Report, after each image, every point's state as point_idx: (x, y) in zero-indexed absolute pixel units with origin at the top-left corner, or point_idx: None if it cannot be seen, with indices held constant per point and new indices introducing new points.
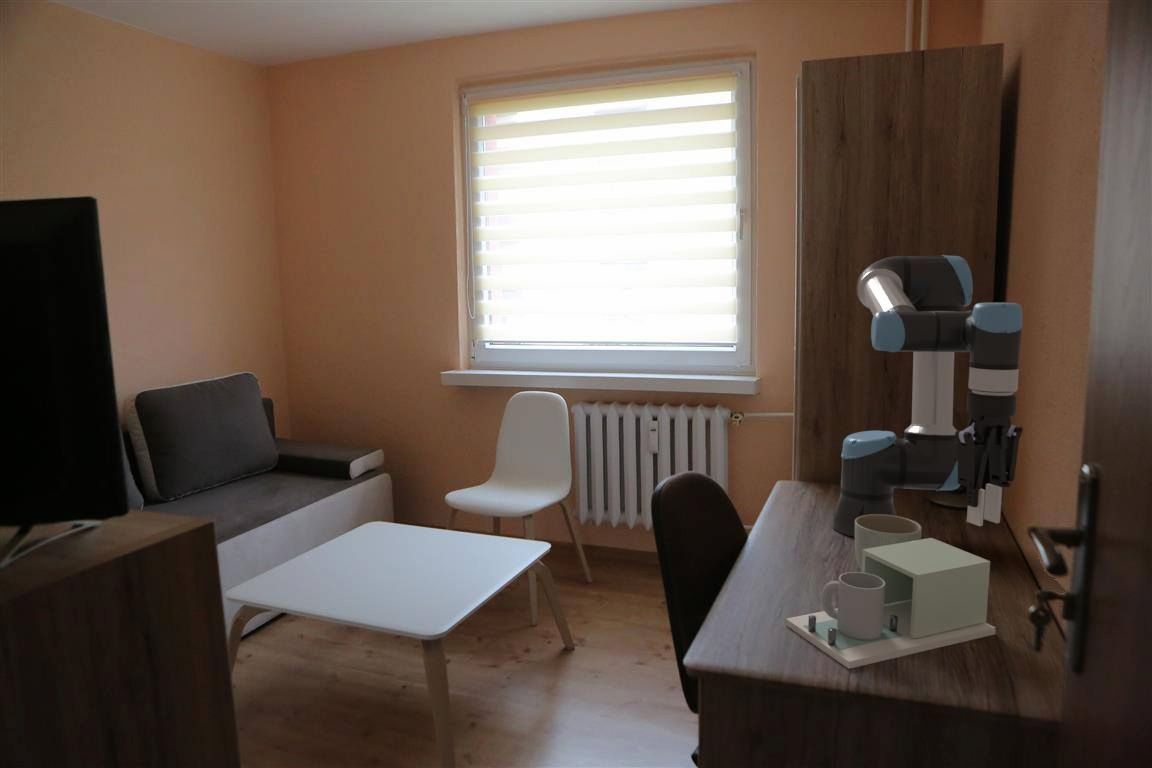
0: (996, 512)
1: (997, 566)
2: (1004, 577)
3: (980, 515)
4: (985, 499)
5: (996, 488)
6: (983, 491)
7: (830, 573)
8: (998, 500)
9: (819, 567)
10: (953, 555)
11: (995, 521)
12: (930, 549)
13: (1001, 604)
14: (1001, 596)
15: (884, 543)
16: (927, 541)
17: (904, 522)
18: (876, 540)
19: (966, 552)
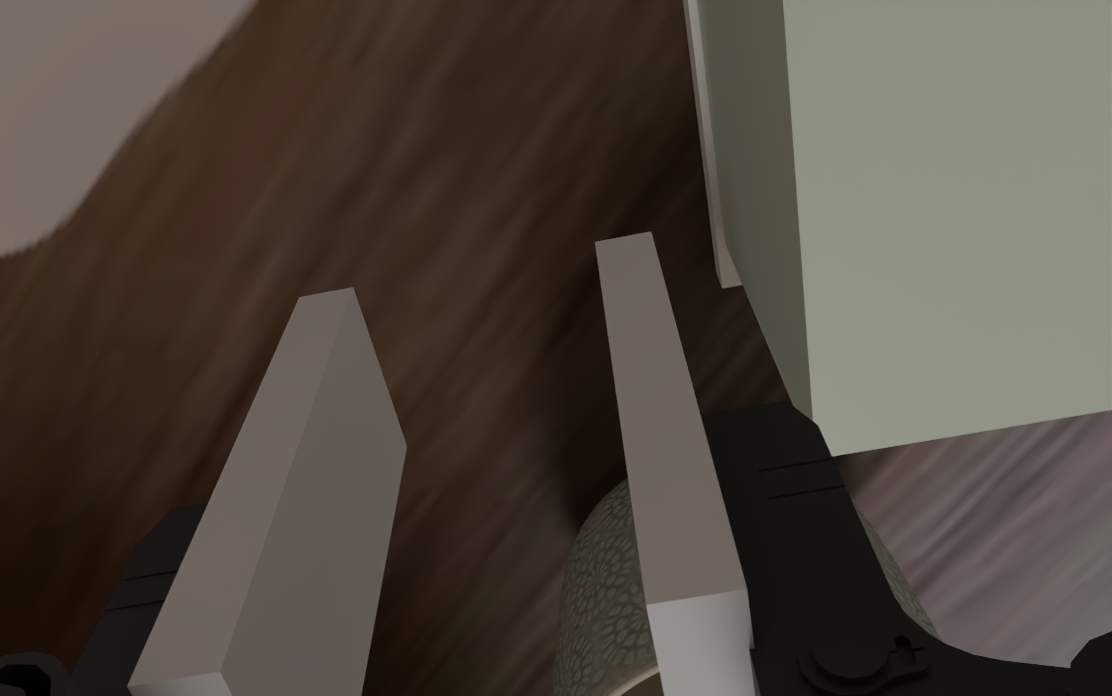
0: (333, 374)
1: (39, 538)
2: (75, 419)
3: (661, 303)
4: (370, 626)
5: (253, 687)
6: (685, 573)
7: (957, 586)
8: (277, 485)
9: (955, 645)
10: (1002, 20)
11: (357, 312)
12: (1075, 212)
13: (307, 106)
14: (240, 206)
15: (900, 605)
16: (923, 390)
17: None
18: (937, 638)
19: (805, 72)
